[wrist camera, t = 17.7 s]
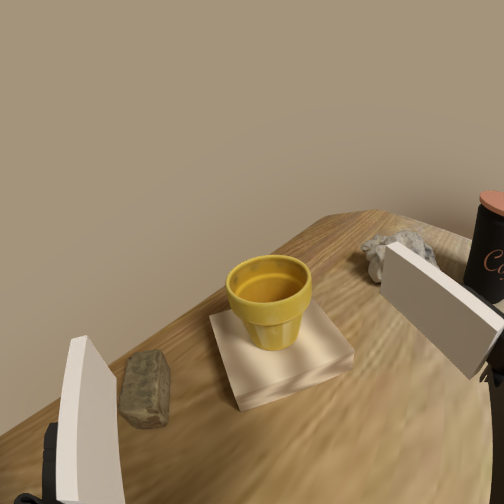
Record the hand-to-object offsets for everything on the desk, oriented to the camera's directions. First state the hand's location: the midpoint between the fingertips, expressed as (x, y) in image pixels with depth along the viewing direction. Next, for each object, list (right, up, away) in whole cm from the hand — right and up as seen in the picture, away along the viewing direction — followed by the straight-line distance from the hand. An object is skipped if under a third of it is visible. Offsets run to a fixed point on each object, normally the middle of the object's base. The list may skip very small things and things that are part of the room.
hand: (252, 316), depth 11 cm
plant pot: (+3, -9, +28) cm, 30 cm away
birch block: (+4, -12, +30) cm, 33 cm away
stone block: (-14, -19, +25) cm, 34 cm away
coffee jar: (+45, -5, +31) cm, 55 cm away
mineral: (+28, -2, +41) cm, 49 cm away
